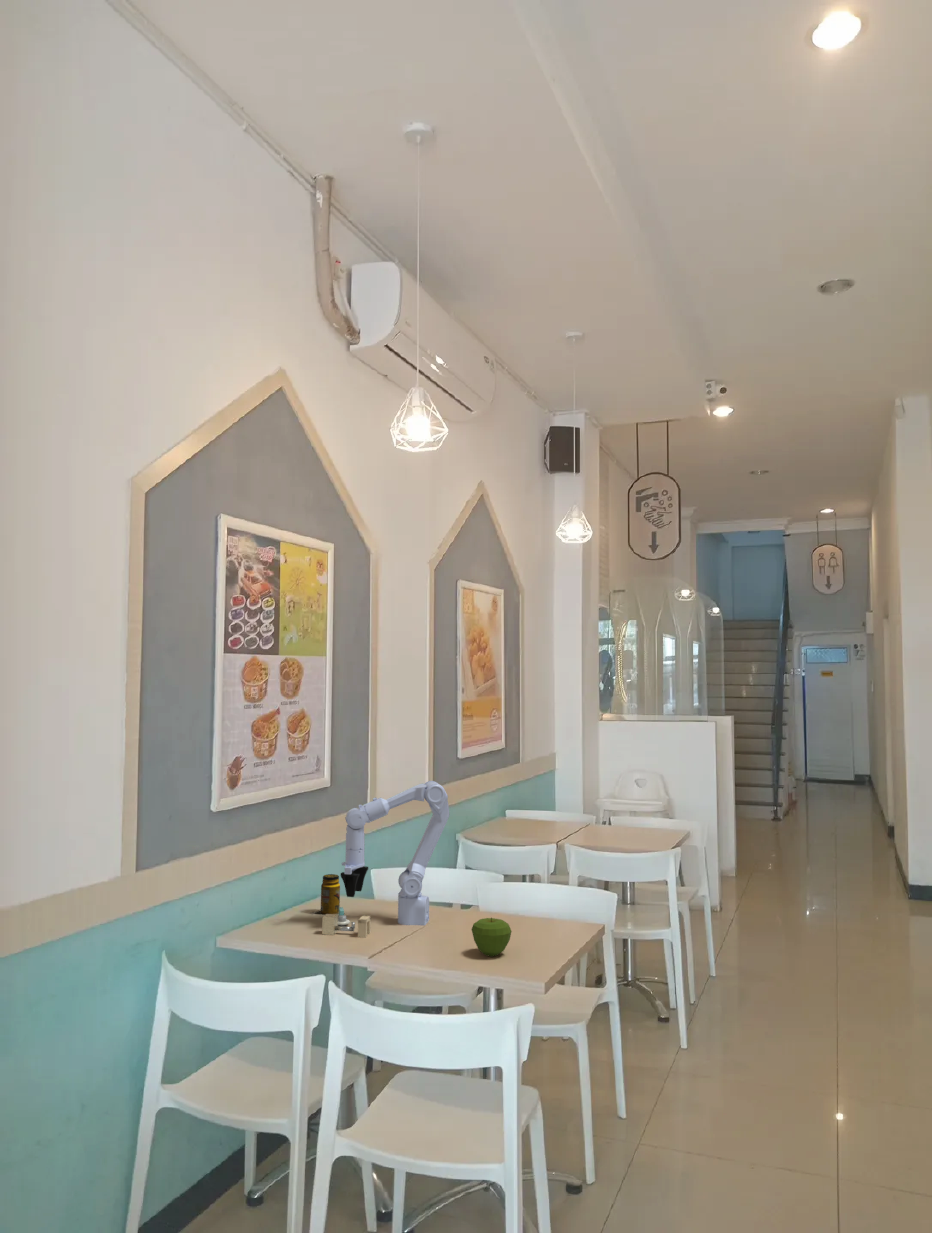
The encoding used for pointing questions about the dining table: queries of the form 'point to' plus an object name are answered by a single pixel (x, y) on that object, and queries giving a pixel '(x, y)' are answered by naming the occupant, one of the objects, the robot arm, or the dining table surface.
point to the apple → (491, 935)
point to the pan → (342, 917)
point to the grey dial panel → (363, 926)
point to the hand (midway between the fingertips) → (354, 893)
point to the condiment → (330, 895)
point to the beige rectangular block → (334, 925)
